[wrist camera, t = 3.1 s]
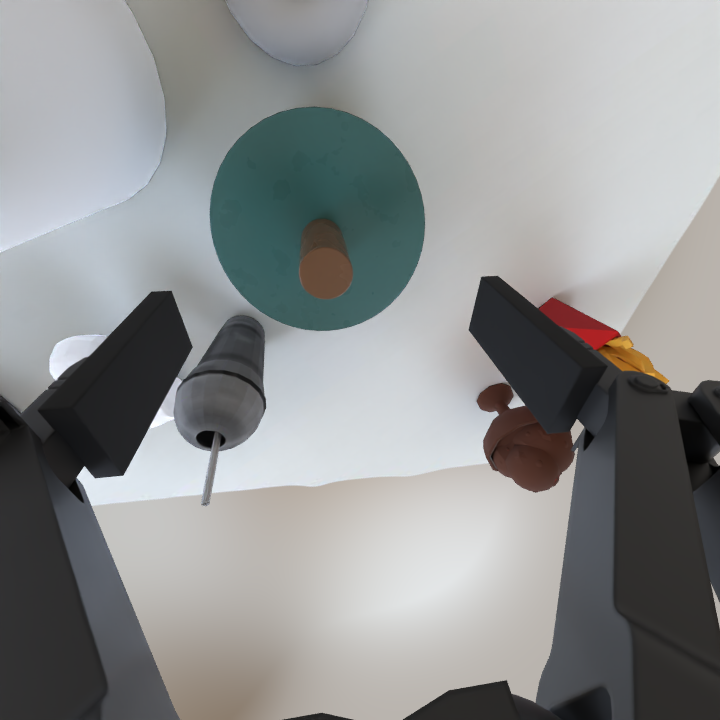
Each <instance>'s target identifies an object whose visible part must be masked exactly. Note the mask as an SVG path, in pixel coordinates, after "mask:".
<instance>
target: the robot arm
mask: <svg viewBox="0 0 720 720" xmlns="http://www.w3.org/2000/svg"><path fill="white" fill-rule="evenodd" d="M469 331H470V332H471V334H472V335H473V336H474V338H475V339H476V340H477V342H478V343H479V344H480V346H481V347H482V348H483V350H484V351H485V352H486V354H487V355H488V356H489V358H490V359H491V360H492V361H493V363H494V364H495V365H496V367H497V368H498V369H499V371H500V372H501V373H502V375H503V376H504V377H505V379H506V380H507V381H508V383H509V384H510V385H511V387H512V388H513V389H514V390H515V392H516V393H517V394H518V396H519V397H520V398H521V400H522V401H523V402H524V404H525V405H526V406H527V408H528V409H529V410H530V412H531V413H532V414H533V415H534V417H535V418H536V419H537V421H538V422H539V423H540V425H541V426H542V427H543V429H544V430H545V431H546V433H547V434H553V433H563V432H569V431H570V430H571V428H572V426H573V425H574V423H575V421H576V419H578V420H579V421H580V422H581V423H582V424H583V426H584V429H583V431H582V432H581V434H580V435H579V437H578V439H577V440H576V442H575V443H574V445H573V447H572V448H571V451H573V452H574V451H575V450H576V448H578V454H577V462H576V469H575V476H574V484H573V491H572V500H571V507H570V515H569V522H568V530H567V538H566V545H565V553H564V561H563V568H562V575H561V583H560V591H559V598H558V606H557V614H556V622H555V629H554V637H553V644H552V649H551V653H550V656H549V659H548V661H547V663H546V665H545V668H544V670H543V672H542V675H541V679H540V682H539V687H538V692H537V697H536V703H534V702H533V701H530V700H528V699H525V698H522V697H520V696H517V695H513V694H511V691H510V688H509V686H508V683H507V681H500V682H494V683H489V684H484V685H477V686H472V687H466V688H460V689H455V690H449V691H447V692H446V693H444V694H443V695H441V696H439V697H438V698H436V699H435V700H433V701H432V702H430V703H429V704H427V705H425V706H424V707H422V708H420V709H419V710H417V711H416V712H414V713H413V714H411V715H410V716H408V717H406V718H405V719H403V720H720V628H719V623H718V618H717V613H716V608H715V603H714V598H713V593H712V588H711V584H712V586H713V588H714V591H715V593H716V595H717V597H718V599H719V602H720V466H718V464H717V463H716V461H715V460H714V458H713V457H714V456H716V455H717V454H718V453H719V452H720V381H711V380H707V381H703V382H701V383H700V384H699V386H698V387H697V388H696V389H695V390H694V392H693V393H688V392H679V391H672V390H671V389H670V387H669V386H667V385H666V384H665V383H664V382H663V381H661V380H659V379H657V378H655V377H653V376H651V375H648V374H645V373H642V372H637V371H622V370H621V369H619V368H618V367H617V366H616V365H614V364H613V363H612V362H611V361H609V360H608V359H607V358H606V357H604V356H603V355H602V354H600V353H599V352H598V351H597V350H593V347H592V346H590V345H589V344H588V343H585V341H584V340H583V339H582V338H580V337H579V336H578V335H577V334H575V333H574V332H572V331H570V330H567V329H565V328H563V327H561V326H558V325H557V324H556V323H555V322H553V321H552V320H551V319H550V318H549V317H547V316H546V315H545V314H544V313H542V312H541V311H540V310H539V309H538V308H536V307H535V306H534V305H533V304H531V303H530V302H529V301H528V300H527V299H525V298H524V297H523V296H522V295H520V294H519V293H518V292H517V291H516V290H514V289H513V288H512V287H511V286H509V285H508V284H507V283H506V282H505V281H503V280H502V279H501V278H500V277H498V276H487V277H481V281H480V285H479V289H478V293H477V297H476V301H475V306H474V310H473V314H472V318H471V322H470V326H469ZM192 348H193V347H192V344H191V341H190V339H189V336H188V333H187V331H186V328H185V325H184V323H183V320H182V318H181V315H180V312H179V310H178V307H177V304H176V302H175V299H174V296H173V294H172V291H156V292H151V293H150V294H149V295H148V296H147V297H146V298H145V299H144V300H143V301H142V302H141V303H140V304H139V305H138V306H137V307H136V308H135V309H134V310H133V311H132V312H131V313H130V314H129V315H128V316H127V318H126V319H125V320H124V321H123V322H122V323H121V324H120V325H119V326H118V327H117V328H116V329H115V330H114V331H113V332H112V333H111V334H110V335H109V336H108V337H107V338H106V339H105V340H104V341H103V342H102V343H101V344H100V345H99V346H98V348H97V349H96V350H95V351H94V352H93V353H92V354H91V355H90V356H89V357H84V358H83V359H81V360H80V361H78V362H76V363H75V364H73V365H71V366H70V367H68V368H67V369H66V370H65V371H64V372H63V373H62V374H61V375H60V376H59V377H58V378H57V379H58V380H55V381H54V382H53V383H52V384H51V385H50V386H49V387H48V390H45V391H44V392H43V393H42V394H41V395H40V396H39V397H38V398H37V399H36V400H35V401H34V402H33V403H32V404H31V405H30V406H29V407H28V408H27V409H26V410H25V411H24V412H23V413H22V414H20V413H19V412H18V411H17V410H16V409H15V408H14V407H13V406H12V405H11V404H10V403H8V402H7V401H6V400H5V399H4V398H3V397H2V396H0V720H180V718H179V717H178V715H177V713H176V711H175V709H174V707H173V704H172V702H171V699H170V697H169V694H168V692H167V690H166V687H165V685H164V682H163V680H162V677H161V675H160V672H159V670H158V668H157V665H156V663H155V660H154V658H153V655H152V653H151V651H150V648H149V646H148V643H147V641H146V638H145V636H144V633H143V631H142V629H141V626H140V624H139V621H138V619H137V616H136V614H135V611H134V609H133V607H132V604H131V602H130V600H129V597H128V594H127V592H126V589H125V587H124V585H123V582H122V580H121V577H120V575H119V572H118V570H117V568H116V565H115V563H114V560H113V558H112V555H111V553H110V550H109V548H108V546H107V543H106V541H105V538H104V536H103V533H102V531H101V529H100V526H99V524H98V521H97V519H96V516H95V514H94V511H93V509H92V506H91V504H90V502H89V499H88V497H87V494H86V492H85V489H84V487H83V485H82V484H81V483H80V481H79V480H78V479H77V478H76V477H77V476H78V474H79V473H80V471H81V470H82V468H83V467H84V466H85V467H86V468H87V469H88V471H89V472H90V473H91V474H92V475H93V476H94V478H102V477H112V476H123V475H124V473H125V472H126V470H127V468H128V466H129V464H130V462H131V460H132V459H133V457H134V455H135V453H136V451H137V449H138V448H139V446H140V444H141V442H142V440H143V438H144V436H145V435H146V433H147V431H148V429H149V427H150V425H151V423H152V422H153V420H154V418H155V416H156V414H157V412H158V410H159V409H160V407H161V405H162V403H163V401H164V399H165V398H166V396H167V394H168V392H169V390H170V388H171V386H172V385H173V383H174V381H175V379H176V377H177V375H178V373H179V372H180V370H181V368H182V366H183V364H184V362H185V360H186V359H187V357H188V355H189V353H190V351H191V349H192ZM284 720H352V719H348V718H343V717H338V716H334V715H329V714H325V713H319V714H312V715H307V716H301V717H296V718H290V719H284Z"/></svg>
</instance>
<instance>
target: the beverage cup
mask: <svg viewBox="0 0 720 720" xmlns="http://www.w3.org/2000/svg"><path fill="white" fill-rule="evenodd" d="M264 349H265V341H264V330H263V328H262V326H261V325H260V324H259V322H258V321H256V320H254V319H253V318H250V317H247V316H236V317H232V318H231V319H229V320H228V321H227V322H226V323H225V325H224V326H223V327H222V328H221V330H220V331H219V333H218V334H217V336H216V337H215V339H214V340H213V342H212V344H211V345H210V347H209V348H208V350H207V351H206V353H205V355H204V356H203V358H202V359H201V361H200V362H199V364H198V365H197V367H196V368H195V369H194V370H193V371H192V372H191V373H190V374H189V375H188V377H187V378H186V379H184V380H183V381H182V383H181V384H180V385H179V386H178V388H177V392H176V397H175V404H174V411H173V414H174V419H175V423H176V426H177V429H178V431H179V432H180V434H181V435H182V436H183V437H184V439H185V440H186V441H187V442H189V443H190V444H192V445H193V446H195V447H197V448H200V449H202V450H207V451H211V455H210V460H209V465H208V470H207V476H206V481H205V486H204V491H203V496H202V502H201V505H203V506H207V505H209V503H210V497H211V492H212V486H213V480H214V475H215V469H216V464H217V458H218V452H219V451H223V450H227V449H231V448H234V447H236V446H238V445H239V444H241V443H243V442H244V441H246V440H247V439H248V438H249V437H250V436H251V435H252V434H253V433H254V432H255V430H256V429H257V427H258V425H259V423H260V421H261V419H262V417H263V414H264V412H265V409H266V398H265V396H264V387H263V370H264Z"/></svg>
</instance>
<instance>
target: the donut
mask: <svg viewBox="0 0 720 720" xmlns="http://www.w3.org/2000/svg"><path fill="white" fill-rule="evenodd" d="M226 3H227V5H228V7H229V10H230V12H231V14H232V15H233V16H234V18H235V19H236V21H237V22H238V23H239V25H240V26H241V27H242V29H243V30H244V32H245V33H246V34H247V36H248V37H249V39H250V40H251V41H253V42H254V43H255V44H256V45H258V46H259V47H260V48H261V49H262V50H264V51H265V52H266V53H267V54H269V55H270V56H271V57H273V58H275V59H278V60H281V61H283V62H286V63H289V64H291V65H294V66H298V65H317V64H319V63H321V62H323V61H325V60H327V59H329V58H331V57H333V56H335V55H337V54H338V53H339V52H340V50H341V49H342V48H343V47H344V46H345V45H346V44H347V43H348V42H349V40H350V39H351V38H352V37H353V36H354V34H355V32H356V30H357V28H358V26H359V23H360V21H361V19H362V17H363V15H364V13H365V11H366V8H367V3H368V0H226Z"/></svg>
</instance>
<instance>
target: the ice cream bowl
mask: <svg viewBox="0 0 720 720" xmlns="http://www.w3.org/2000/svg"><path fill="white" fill-rule="evenodd" d="M512 398H513V392H512V390H511V387H510V386H509V385H505V384H502V383H501V384H496V385H492V386H489V387H488V388H487V389H485V390H484V391H483V392H481V393H480V395H479V398H478V400H477V403H478V405H479V407H480V409H482V410H484V411H488V412H493V411H497V412H498V414H499V416H497V417H496V418H495V419H494V420H493V421H492V423H491V425H490V427H489V429H488V431H487V433H486V436H485V438H484V440H483V448H484V452H485V455H486V458H487V460H488V462H489V464H490V466H491V467H492V469H493V470H495V471H499V472H500V473H501V474H503V475H504V476H507V477H510V478H512V479H513V480H514V481H515V483H516V484H518V485H519V486H521V487H522V488H524V489H527V490H529V491H533V492H539V491H544V490H548V489H550V488H551V487H552V486H555V485H556V484H557V483H558V481H559V476H560V475H561V474H562V472H563V471H565V470H566V469H567V468H568V467H569V466H570V464H571V463H572V462H573V459H574V455H575V453H574V452H573V451H571V448H572V447H573V443H572V436H571V431H569V432H563V433H553V434H547V433H546V431H545V430H544V429H543V427H542V426H541V425H540V423H539V422H538V421H537V419H536V418H535V417H534V415H533V414H532V413H531V412H530V410H529V409H528V408H527V406H522V407H518V408H513V409H510V408H509V407H508V404H509V403H510V402H511V400H512Z"/></svg>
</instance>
